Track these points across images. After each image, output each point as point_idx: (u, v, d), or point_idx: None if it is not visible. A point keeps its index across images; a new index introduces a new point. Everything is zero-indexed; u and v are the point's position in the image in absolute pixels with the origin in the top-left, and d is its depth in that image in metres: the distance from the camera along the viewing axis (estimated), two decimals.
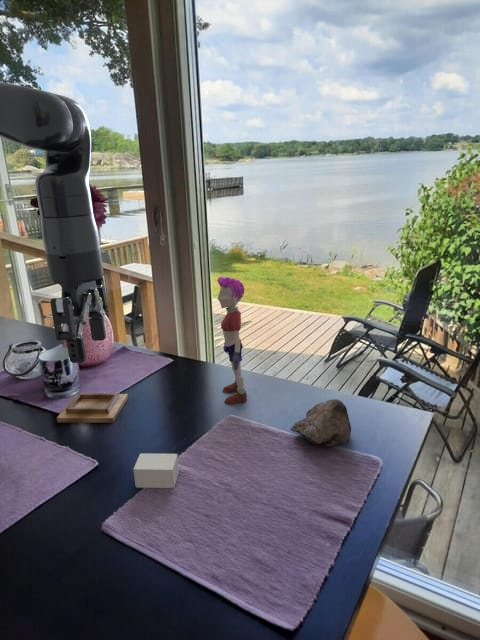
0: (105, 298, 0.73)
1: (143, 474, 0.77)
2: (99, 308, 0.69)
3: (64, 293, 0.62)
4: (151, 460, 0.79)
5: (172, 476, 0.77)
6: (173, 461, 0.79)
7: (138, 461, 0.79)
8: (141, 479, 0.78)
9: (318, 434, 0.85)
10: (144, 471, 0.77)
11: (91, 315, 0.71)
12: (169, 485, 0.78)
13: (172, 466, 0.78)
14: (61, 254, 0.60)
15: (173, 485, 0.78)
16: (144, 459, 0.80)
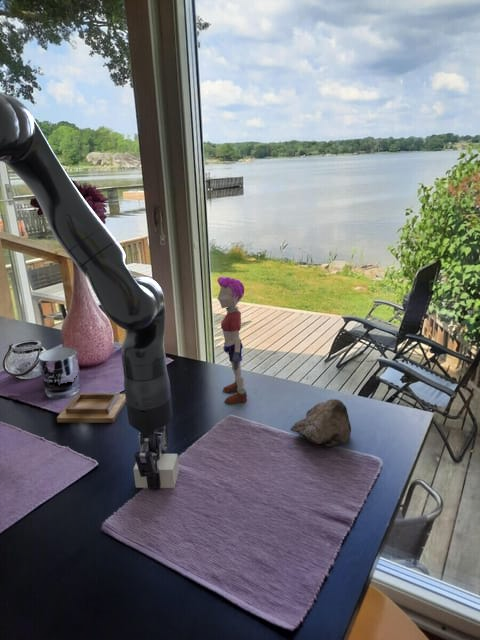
0: (167, 432, 0.83)
1: None
2: (164, 442, 0.80)
3: (142, 440, 0.73)
4: None
5: (172, 476, 0.77)
6: (173, 461, 0.79)
7: None
8: (141, 479, 0.78)
9: (318, 434, 0.85)
10: None
11: None
12: (169, 485, 0.78)
13: (172, 466, 0.78)
14: (142, 409, 0.71)
15: (173, 485, 0.78)
16: None
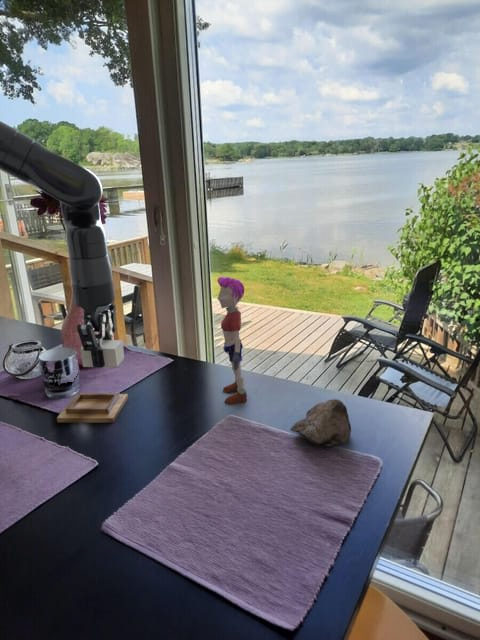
0: (114, 322, 0.92)
1: (89, 353, 0.86)
2: (109, 328, 0.89)
3: (85, 316, 0.82)
4: None
5: (115, 355, 0.86)
6: (117, 344, 0.88)
7: None
8: (87, 359, 0.87)
9: (318, 434, 0.85)
10: None
11: None
12: (112, 364, 0.87)
13: (115, 347, 0.86)
14: (84, 286, 0.80)
15: (116, 364, 0.87)
16: None
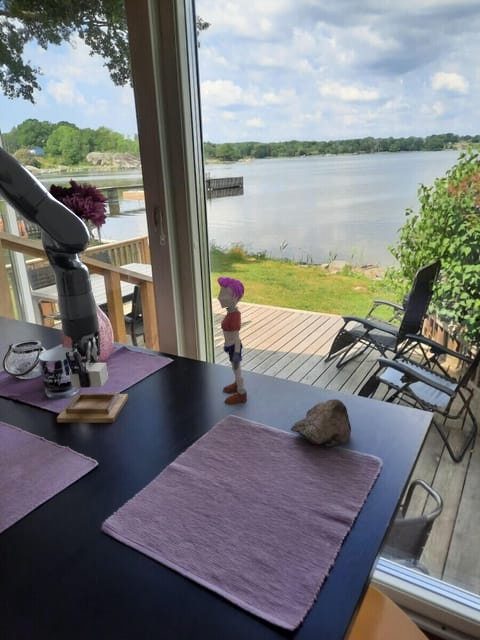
0: (99, 347, 1.04)
1: (77, 375, 0.99)
2: (94, 352, 1.01)
3: (72, 344, 0.94)
4: None
5: (99, 377, 0.99)
6: (101, 366, 1.00)
7: None
8: (76, 380, 0.99)
9: (318, 434, 0.85)
10: None
11: None
12: (97, 384, 0.99)
13: (99, 369, 0.99)
14: (71, 318, 0.93)
15: (101, 385, 0.99)
16: None
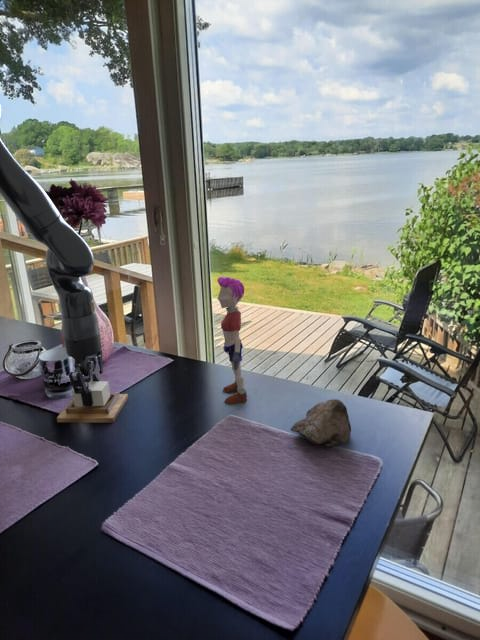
0: (101, 365, 1.06)
1: (80, 395, 1.01)
2: (97, 371, 1.03)
3: (76, 365, 0.96)
4: None
5: (102, 396, 1.00)
6: (103, 385, 1.02)
7: None
8: (78, 399, 1.01)
9: (318, 434, 0.85)
10: None
11: None
12: (100, 403, 1.01)
13: (102, 388, 1.01)
14: (74, 340, 0.94)
15: (103, 403, 1.01)
16: None
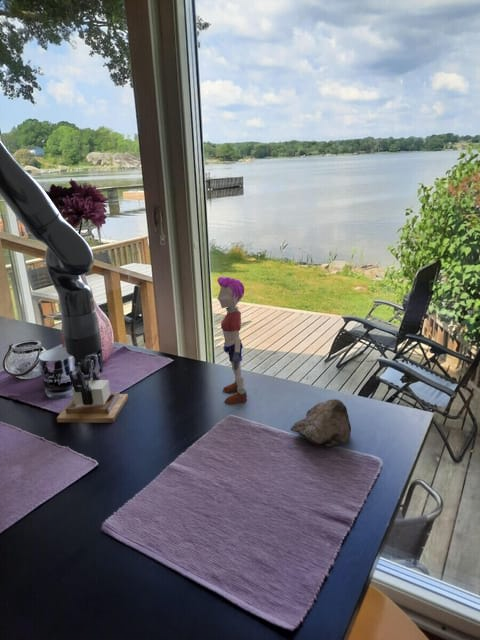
0: (101, 364, 1.06)
1: (80, 393, 1.00)
2: (97, 370, 1.03)
3: (76, 363, 0.96)
4: None
5: (102, 394, 1.00)
6: (103, 384, 1.02)
7: None
8: (78, 397, 1.01)
9: (318, 434, 0.85)
10: None
11: None
12: (100, 401, 1.01)
13: (102, 387, 1.01)
14: (74, 338, 0.94)
15: (103, 402, 1.01)
16: None
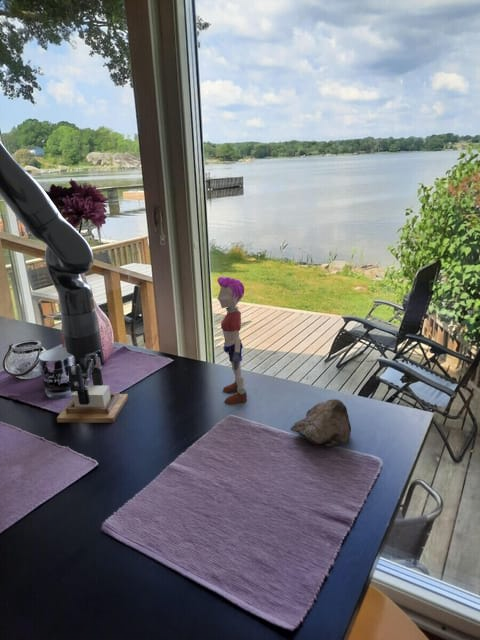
0: (102, 357, 1.07)
1: None
2: (98, 366, 1.04)
3: (76, 361, 0.96)
4: (88, 389, 1.03)
5: (102, 400, 1.01)
6: (104, 390, 1.02)
7: None
8: (79, 403, 1.01)
9: (318, 434, 0.85)
10: None
11: (93, 369, 1.05)
12: (100, 407, 1.01)
13: (103, 393, 1.01)
14: (74, 337, 0.94)
15: None
16: None
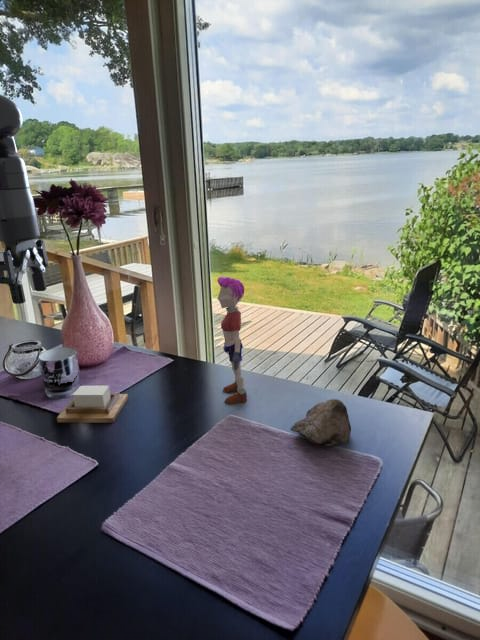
0: (45, 257, 0.92)
1: (81, 399, 1.01)
2: (39, 264, 0.89)
3: (6, 248, 0.81)
4: (88, 389, 1.03)
5: (102, 400, 1.01)
6: (104, 390, 1.02)
7: (77, 390, 1.03)
8: (79, 403, 1.01)
9: (318, 434, 0.85)
10: (81, 396, 1.01)
11: (33, 270, 0.91)
12: (100, 407, 1.01)
13: (103, 393, 1.01)
14: (3, 218, 0.79)
15: None
16: (82, 389, 1.03)
